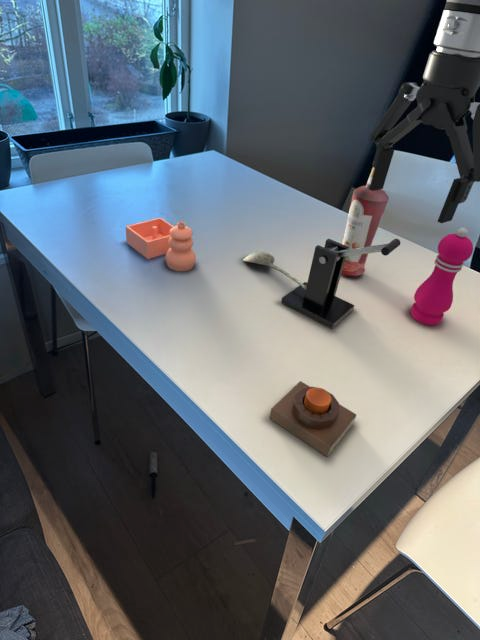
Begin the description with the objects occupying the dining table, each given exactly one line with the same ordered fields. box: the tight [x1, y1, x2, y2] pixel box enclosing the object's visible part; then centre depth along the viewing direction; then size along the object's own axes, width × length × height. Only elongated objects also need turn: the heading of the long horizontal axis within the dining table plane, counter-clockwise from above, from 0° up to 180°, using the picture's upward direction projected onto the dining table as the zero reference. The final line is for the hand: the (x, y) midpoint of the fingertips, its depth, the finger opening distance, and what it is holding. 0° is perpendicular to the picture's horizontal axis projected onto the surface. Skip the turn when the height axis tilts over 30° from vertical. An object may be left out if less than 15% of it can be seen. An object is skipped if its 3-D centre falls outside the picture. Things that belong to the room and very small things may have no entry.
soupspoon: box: [242, 251, 306, 291], centre depth 97 cm, size 22×3×7 cm
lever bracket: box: [280, 238, 355, 330], centre depth 87 cm, size 12×9×14 cm
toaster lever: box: [326, 238, 401, 261], centre depth 80 cm, size 14×5×2 cm, turn 51°
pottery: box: [125, 217, 196, 272], centre depth 100 cm, size 18×10×10 cm, turn 42°
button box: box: [269, 381, 357, 457], centre depth 66 cm, size 10×8×4 cm
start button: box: [304, 387, 331, 414], centre depth 64 cm, size 4×4×2 cm
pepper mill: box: [409, 227, 474, 326], centre depth 87 cm, size 7×7×20 cm
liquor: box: [341, 166, 389, 278], centre depth 96 cm, size 7×7×28 cm
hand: (408, 204), depth 72 cm, fingers open, 13 cm apart
